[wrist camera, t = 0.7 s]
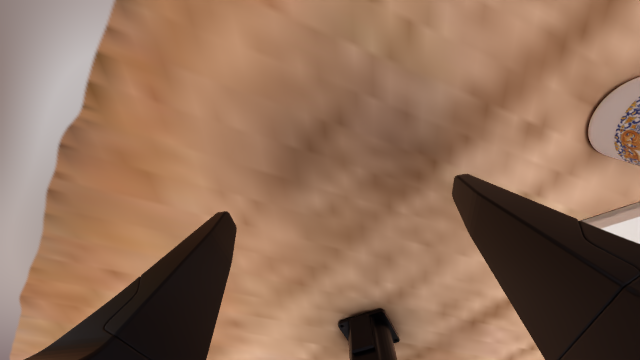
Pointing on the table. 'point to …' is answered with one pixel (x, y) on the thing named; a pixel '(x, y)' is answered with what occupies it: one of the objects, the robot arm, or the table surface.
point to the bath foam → (618, 124)
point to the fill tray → (620, 222)
